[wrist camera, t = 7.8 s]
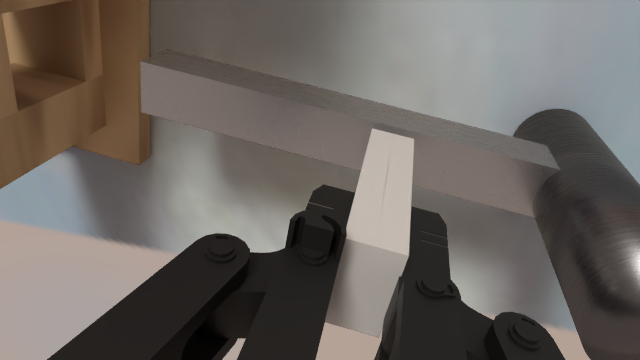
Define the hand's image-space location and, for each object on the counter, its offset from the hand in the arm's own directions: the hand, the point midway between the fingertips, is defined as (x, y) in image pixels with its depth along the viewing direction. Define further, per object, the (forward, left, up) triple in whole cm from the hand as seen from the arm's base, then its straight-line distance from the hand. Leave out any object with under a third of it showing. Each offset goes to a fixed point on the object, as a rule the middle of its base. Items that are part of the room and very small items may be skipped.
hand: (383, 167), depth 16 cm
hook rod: (0, 0, -7) cm, 7 cm away
